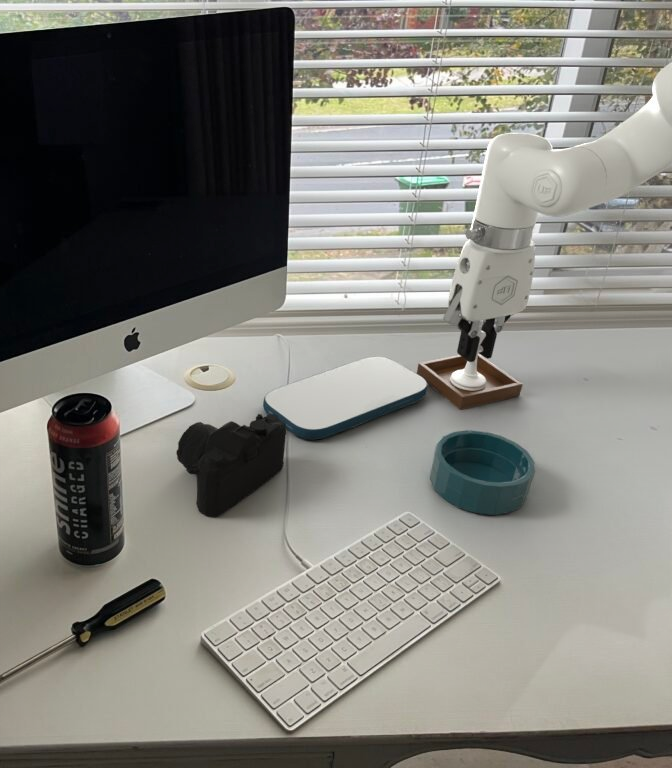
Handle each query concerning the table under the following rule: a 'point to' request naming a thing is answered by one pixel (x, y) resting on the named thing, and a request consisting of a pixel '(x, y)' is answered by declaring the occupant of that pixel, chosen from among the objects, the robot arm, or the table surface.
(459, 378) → the chess piece
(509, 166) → the robot arm
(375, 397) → the external hard drive
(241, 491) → the film camera
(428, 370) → the tray
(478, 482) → the dish
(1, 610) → the table surface
